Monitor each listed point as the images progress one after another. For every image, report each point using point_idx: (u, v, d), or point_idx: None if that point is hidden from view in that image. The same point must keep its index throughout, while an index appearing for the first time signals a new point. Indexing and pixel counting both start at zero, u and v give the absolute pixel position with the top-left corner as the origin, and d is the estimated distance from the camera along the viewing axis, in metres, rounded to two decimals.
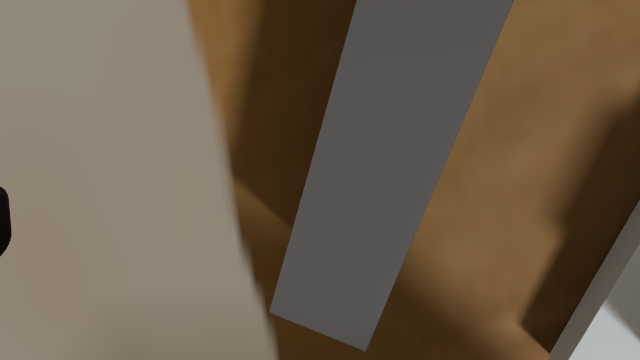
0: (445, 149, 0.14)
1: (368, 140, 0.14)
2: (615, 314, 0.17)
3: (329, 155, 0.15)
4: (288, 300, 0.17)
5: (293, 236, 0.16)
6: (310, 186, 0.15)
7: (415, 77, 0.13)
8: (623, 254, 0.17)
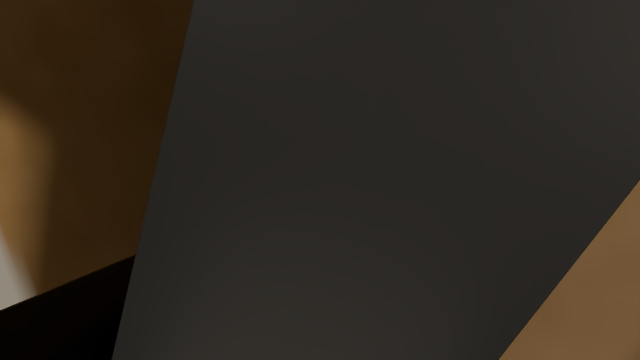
0: None
1: None
2: None
3: None
4: None
5: None
6: None
7: None
8: None
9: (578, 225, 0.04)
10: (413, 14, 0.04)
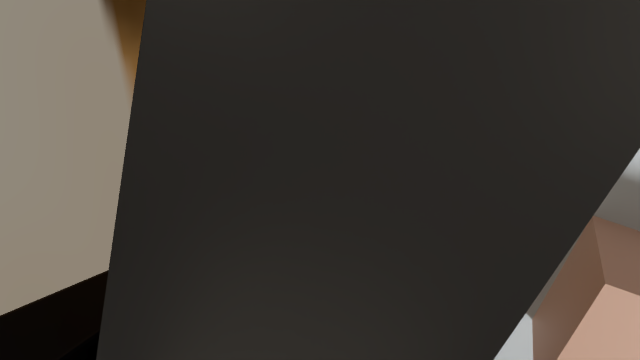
0: None
1: None
2: None
3: None
4: None
5: None
6: None
7: None
8: None
9: (560, 225, 0.04)
10: (370, 8, 0.03)
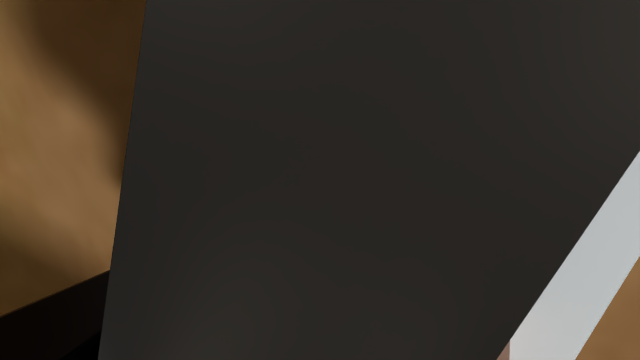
0: None
1: None
2: None
3: None
4: None
5: None
6: None
7: None
8: None
9: (565, 219, 0.04)
10: None
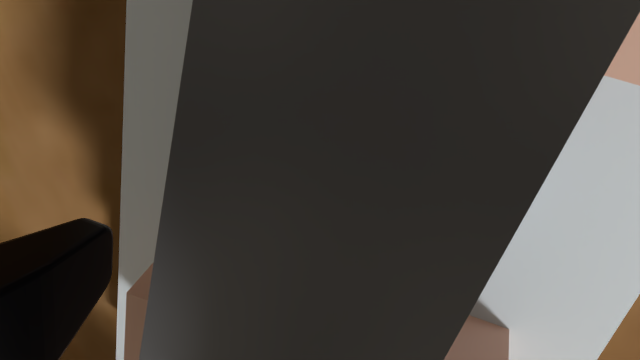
0: None
1: None
2: (132, 287, 0.17)
3: None
4: None
5: None
6: None
7: (303, 341, 0.06)
8: None
9: (545, 142, 0.04)
10: None
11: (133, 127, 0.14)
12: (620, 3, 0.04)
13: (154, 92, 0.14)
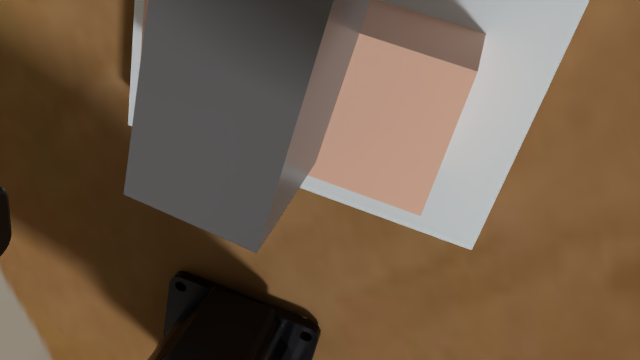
0: None
1: None
2: None
3: None
4: (147, 174, 0.12)
5: (144, 68, 0.11)
6: None
7: None
8: None
9: None
10: None
11: None
12: None
13: None
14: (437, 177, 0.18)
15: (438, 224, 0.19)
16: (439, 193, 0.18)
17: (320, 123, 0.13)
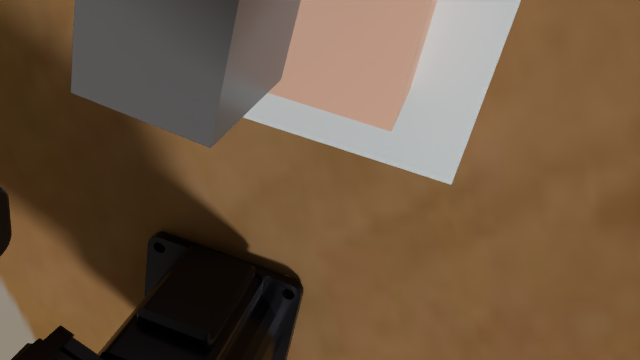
0: None
1: None
2: None
3: None
4: (93, 67, 0.11)
5: None
6: None
7: None
8: None
9: None
10: None
11: None
12: None
13: None
14: (412, 106, 0.17)
15: (416, 158, 0.18)
16: (415, 123, 0.18)
17: (279, 23, 0.13)
